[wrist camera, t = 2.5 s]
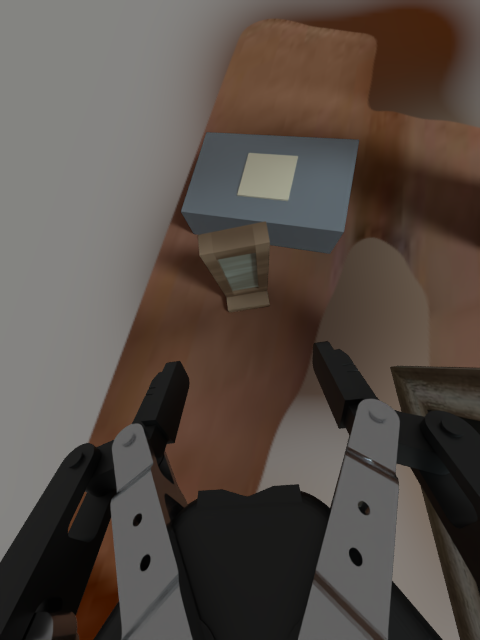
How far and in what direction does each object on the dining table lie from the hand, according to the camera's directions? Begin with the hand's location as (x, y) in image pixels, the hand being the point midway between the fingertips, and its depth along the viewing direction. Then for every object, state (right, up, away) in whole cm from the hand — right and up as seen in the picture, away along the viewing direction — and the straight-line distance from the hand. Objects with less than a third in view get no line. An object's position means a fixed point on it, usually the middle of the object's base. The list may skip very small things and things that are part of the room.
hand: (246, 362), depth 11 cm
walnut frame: (+1, +7, +17) cm, 19 cm away
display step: (+4, +21, +20) cm, 29 cm away
